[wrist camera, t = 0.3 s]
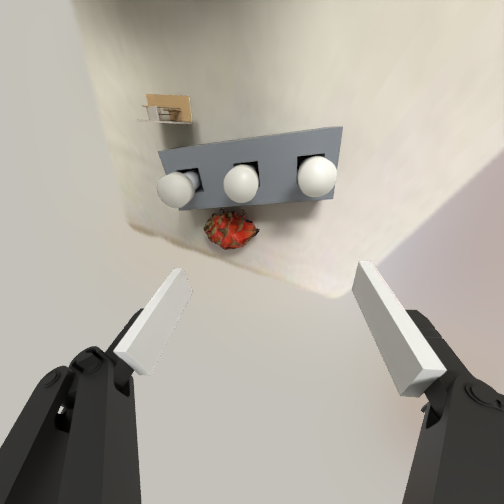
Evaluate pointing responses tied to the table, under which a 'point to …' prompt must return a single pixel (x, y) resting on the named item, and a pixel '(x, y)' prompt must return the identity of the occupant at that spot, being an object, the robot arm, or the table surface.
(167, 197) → the knob far
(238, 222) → the dragon fruit
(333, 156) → the mount
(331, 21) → the table surface
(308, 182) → the knob near
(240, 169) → the knob mid
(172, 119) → the architectural model
